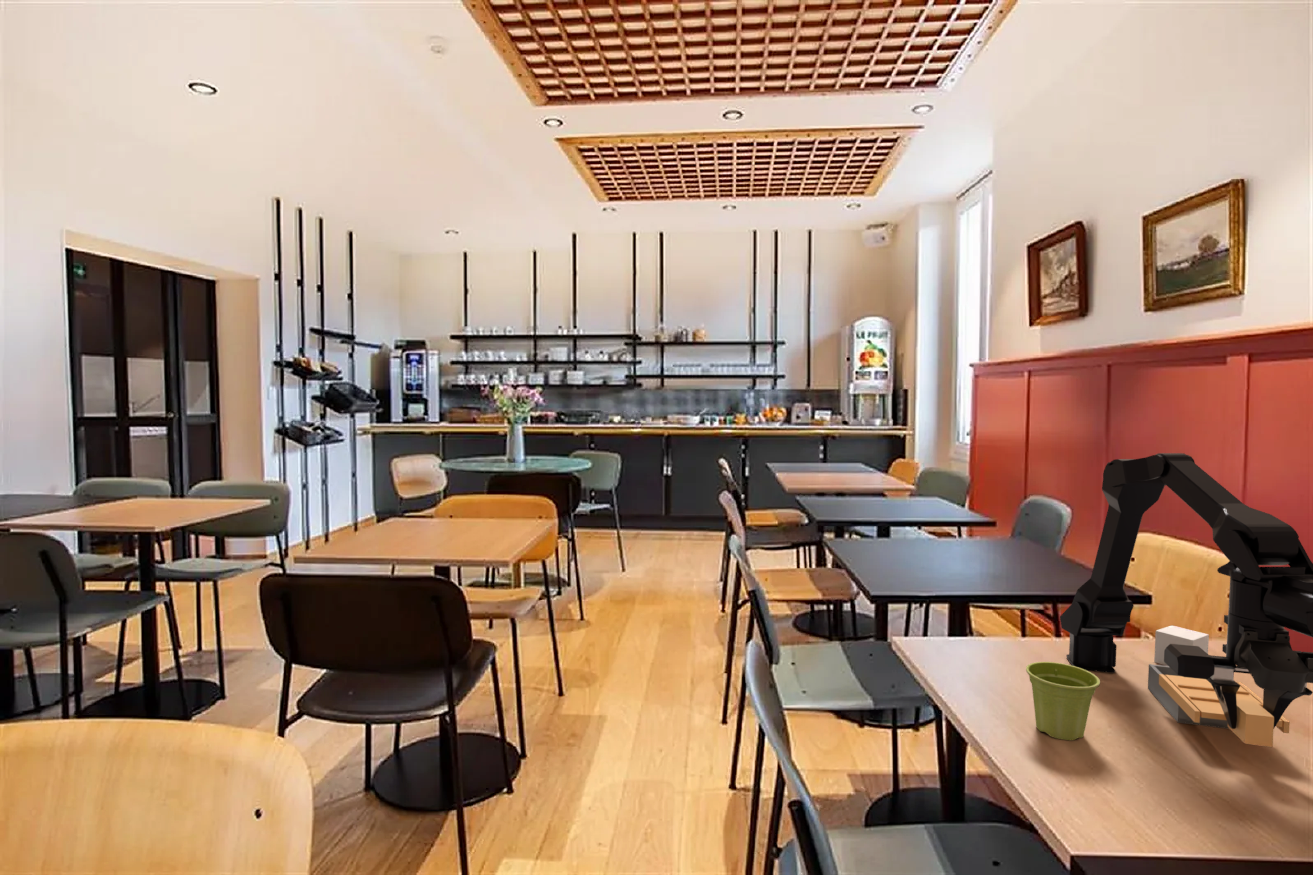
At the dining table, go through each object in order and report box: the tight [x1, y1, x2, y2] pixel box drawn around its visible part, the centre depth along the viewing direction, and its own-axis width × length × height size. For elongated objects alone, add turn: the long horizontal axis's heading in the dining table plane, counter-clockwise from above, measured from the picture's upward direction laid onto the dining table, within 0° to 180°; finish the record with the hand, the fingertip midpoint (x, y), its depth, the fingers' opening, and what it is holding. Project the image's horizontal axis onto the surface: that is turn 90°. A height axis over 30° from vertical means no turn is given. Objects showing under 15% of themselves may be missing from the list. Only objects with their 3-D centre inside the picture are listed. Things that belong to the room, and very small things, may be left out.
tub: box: [1147, 663, 1230, 730], centre depth 112 cm, size 9×13×4 cm
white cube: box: [1153, 625, 1210, 666], centre depth 131 cm, size 6×6×6 cm
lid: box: [1159, 674, 1291, 748], centre depth 102 cm, size 11×19×4 cm, turn 162°
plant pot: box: [1025, 661, 1101, 741], centre depth 105 cm, size 9×9×9 cm
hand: (1249, 729), depth 96 cm, fingers open, 4 cm apart
